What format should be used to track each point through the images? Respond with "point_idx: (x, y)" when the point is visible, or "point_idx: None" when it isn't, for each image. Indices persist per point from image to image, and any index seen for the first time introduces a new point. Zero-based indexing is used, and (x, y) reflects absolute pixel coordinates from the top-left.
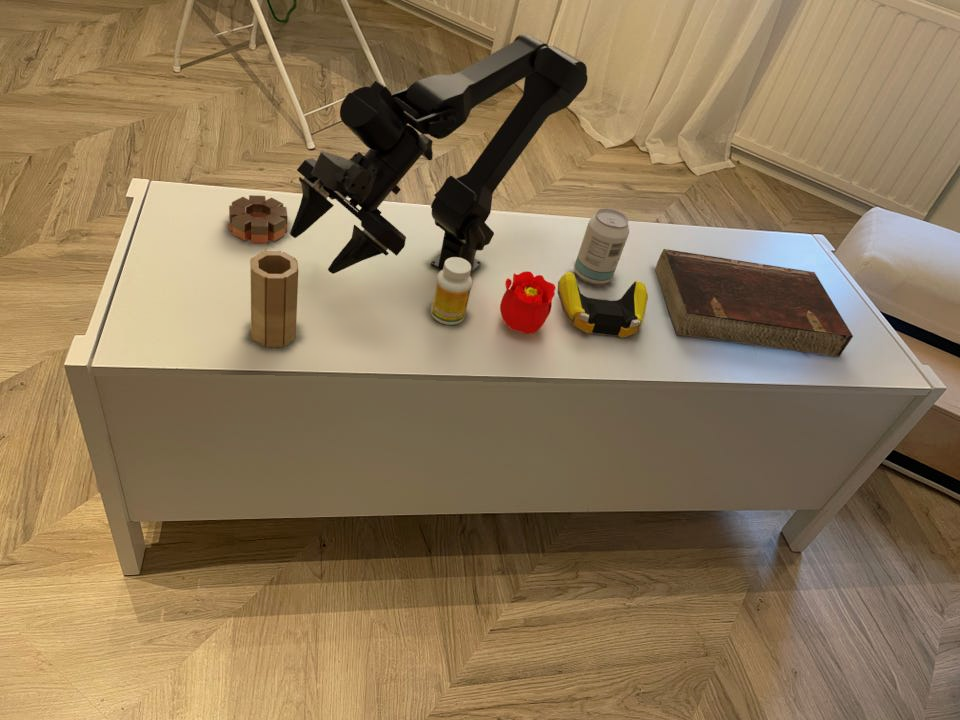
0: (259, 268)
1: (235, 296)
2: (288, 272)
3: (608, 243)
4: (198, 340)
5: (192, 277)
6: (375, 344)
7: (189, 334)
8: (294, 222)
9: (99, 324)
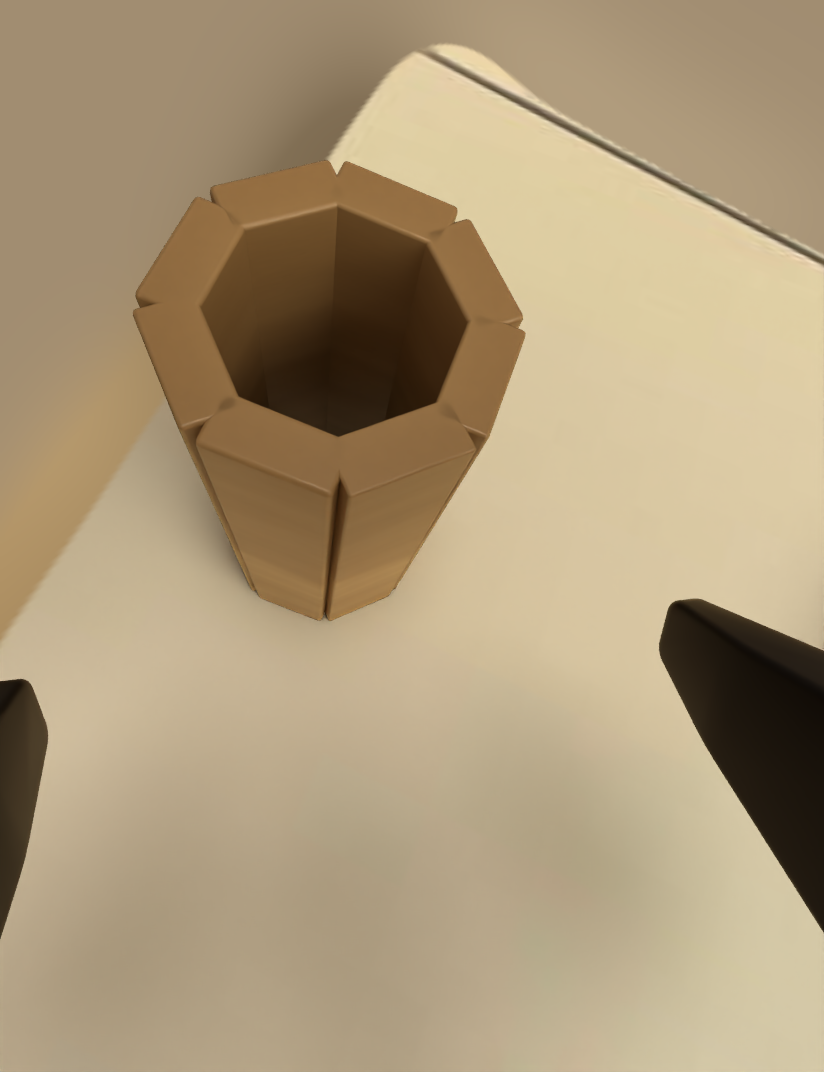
0: (417, 303)
1: (582, 495)
2: (192, 354)
3: None
4: None
5: (722, 409)
6: (25, 948)
7: None
8: (798, 643)
9: (563, 116)
